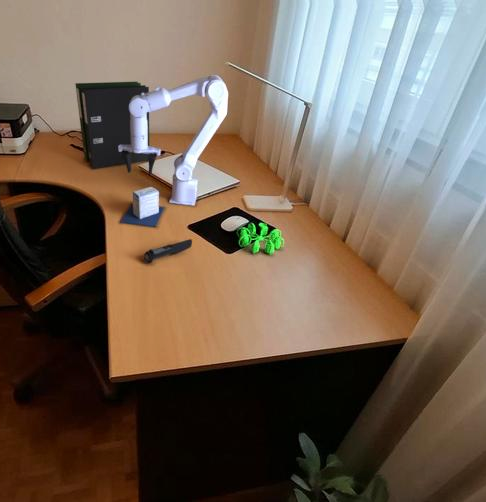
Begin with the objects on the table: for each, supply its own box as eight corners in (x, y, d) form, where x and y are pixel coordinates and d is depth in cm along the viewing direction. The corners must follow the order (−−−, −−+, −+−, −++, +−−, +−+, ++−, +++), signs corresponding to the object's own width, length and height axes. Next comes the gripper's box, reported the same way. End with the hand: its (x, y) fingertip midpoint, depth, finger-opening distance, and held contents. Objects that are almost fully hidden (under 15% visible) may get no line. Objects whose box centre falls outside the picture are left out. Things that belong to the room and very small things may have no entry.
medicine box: (151, 208, 125) (151, 186, 120) (159, 213, 122) (159, 190, 117) (133, 214, 121) (132, 191, 116) (139, 219, 118) (139, 196, 113)
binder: (138, 151, 174) (136, 81, 155) (150, 161, 163) (150, 87, 145) (84, 158, 162) (75, 83, 144) (93, 169, 152) (84, 90, 134)
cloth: (164, 207, 126) (164, 207, 126) (155, 227, 115) (155, 226, 115) (132, 204, 127) (132, 203, 127) (120, 222, 116) (120, 222, 116)
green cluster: (287, 238, 113) (291, 220, 109) (277, 262, 102) (282, 243, 98) (242, 226, 118) (245, 208, 114) (228, 249, 107) (231, 229, 103)
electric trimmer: (194, 250, 105) (195, 242, 103) (148, 264, 98) (148, 255, 96) (187, 244, 108) (188, 236, 106) (142, 258, 101) (142, 248, 99)
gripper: (114, 135, 115) (117, 174, 123) (157, 140, 114) (157, 179, 122) (120, 130, 121) (122, 167, 129) (161, 134, 120) (161, 171, 127)
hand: (140, 172), depth 125 cm, fingers open, 7 cm apart
